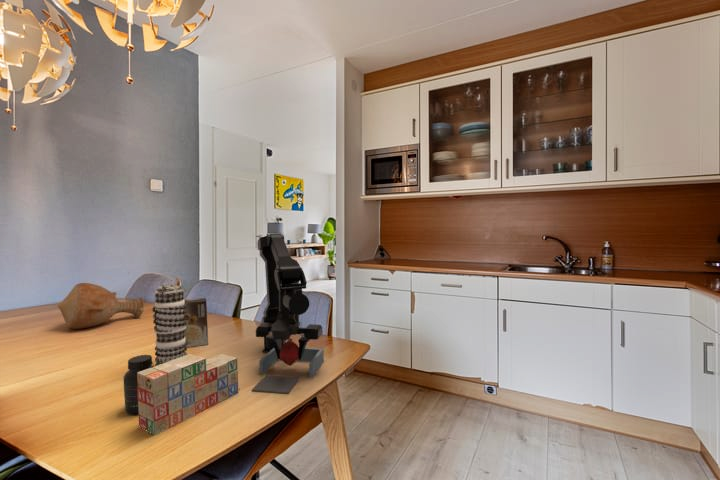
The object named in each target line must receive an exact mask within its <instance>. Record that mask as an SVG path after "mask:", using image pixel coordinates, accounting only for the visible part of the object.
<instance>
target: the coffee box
mask: <svg viewBox="0 0 720 480" xmlns="http://www.w3.org/2000/svg"><path fill="white" fill-rule="evenodd" d="M184 300H185V304H184V305H185V306H187V308H186V309H184V310H185V311H187V313H186V314H184V317H186V318H187V319H186V320H185V321H184V322H186V323H187V324H186V325H185V326H186V329H184V331H185V334H184V335H185V342H186V343H187V345H186V346H185V347H186V348H187V349H188V348H192V347H201V346H207V345H209V330H208V328H209V327H208V309H207V308H208V306H207V298H206V297H202V298H190V299H189V298H188V299H184Z"/></svg>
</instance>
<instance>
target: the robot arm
mask: <svg viewBox="0 0 720 480" xmlns="http://www.w3.org/2000/svg"><path fill="white" fill-rule="evenodd" d="M256 245H257V250H258V251H259V256H260V258H261V259H262V260H263V262H264V265H265V267H264V269H265V281H266V282H265V283H266V298H267V304H266V306H265V308H264V310H263V315H262V317H261V322H260V325H258V326H257V327H256V329H255V338H263V344H264V345H263V349H262V350H261V352H262V353H268V352H270V351H271V350H272V349H273V348H274V349H275V351H276V354H277V356H278V359H281V358H280V350H281V347H282V346H283V345H284V344H285V343H286V342H287V341H288V339H290V338H291V336H292V335H295V336H296V335H300V337H299V339H298V347H299V354H298V357H299V360H301V358H302V355H303V352H304V349H305V348H307V344H308V342H310V340H311V341H312V340H314V341H315V340H319V339H320V338H321V336H322V335H323V332H324V331H323V326H322V325H321V324H310V323H309V324H308V325H307V326H306V327H300V326H301V321H300V315H304V314H305V313H306V312H307V311H308V309H309V307H310V300H309V298H308V297H307V295H305V294H304V293H303V290H305V289H307V284H308V281H307V279H306V278H307V277H306V275H305V273H304V270H303V267H302V266H301V265H300V263H299V262H298V261H297V260H296V259H294V258H292V255H291V253H290V251H289V248H288V247H287V244H286V242H285V234H283V233H269V234H267V235H265V236H261V237H259V238H258V240H257V243H256Z"/></svg>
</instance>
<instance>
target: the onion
mask: <svg viewBox="0 0 720 480" xmlns="http://www.w3.org/2000/svg"><path fill="white" fill-rule="evenodd" d="M298 354H299V344H297V343H296V342H294V341H293V339H292V338H291V337H290V338H289V339H288V340H286V343H285V344H284V345H283V346H282V347H281V350H280V358H281V360H280V361H282V362H283V364H285V365H287V366H292V365H294V364H295V363H296V362H298V361H297V359H298V358H299V357H298Z"/></svg>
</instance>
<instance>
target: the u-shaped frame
mask: <svg viewBox="0 0 720 480" xmlns="http://www.w3.org/2000/svg"><path fill="white" fill-rule="evenodd" d="M324 356H325V355H324V348H313V347H305V349H304V352H303V355H302V358H301V360H299V358H298V359H297V361H296V362H309V364H308V367H309V370H308V373H309V376H308V377H309V378H310V379H314V377H315V376H316V373H317V372H318V370H319V369H320V367H321V366H322V365H323V363H324V361H325V360H324V359H325V358H324ZM277 361H282V360H281V359H278V356H277V354H276V351H275V349H274V348H273V349H272V350H271V351H270V352H266V354H264V356H263V357H261V358H260V359H259V362H258V369H259V370H258V371H259V372H258V373H259V375H264V373H266V372H267V371H268V370H269V369H270V368H271V367H272V366H273V364H275V363H276V362H277Z"/></svg>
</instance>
